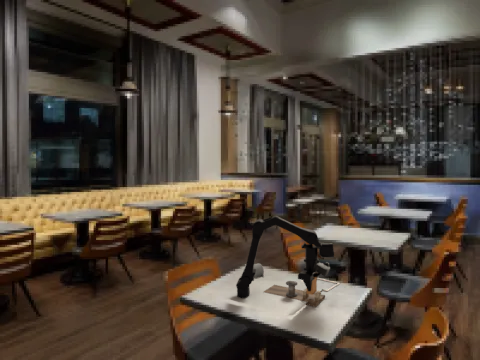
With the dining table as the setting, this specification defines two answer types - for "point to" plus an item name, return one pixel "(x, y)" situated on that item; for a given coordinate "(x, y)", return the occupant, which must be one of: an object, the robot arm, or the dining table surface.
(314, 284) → the orange brown block
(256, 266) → the ceramic mug
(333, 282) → the photo frame
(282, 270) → the dining table surface
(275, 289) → the winding board
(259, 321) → the dining table surface
